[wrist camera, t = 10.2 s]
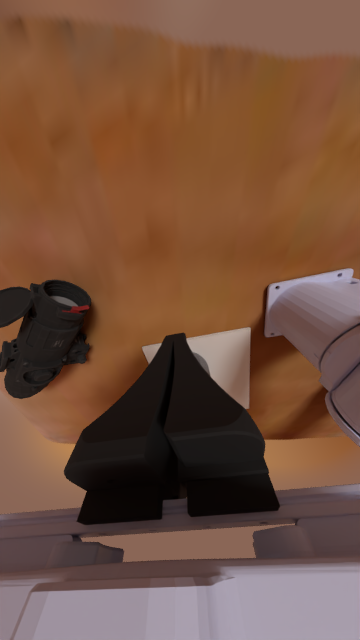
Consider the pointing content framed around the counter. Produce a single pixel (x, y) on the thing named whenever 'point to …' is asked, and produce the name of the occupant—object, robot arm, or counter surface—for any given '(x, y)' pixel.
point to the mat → (222, 360)
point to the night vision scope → (42, 334)
